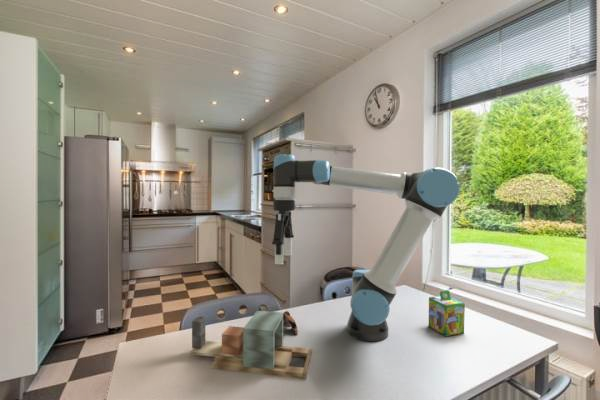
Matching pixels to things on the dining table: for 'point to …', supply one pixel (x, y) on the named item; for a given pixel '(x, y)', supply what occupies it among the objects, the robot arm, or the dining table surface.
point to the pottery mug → (289, 322)
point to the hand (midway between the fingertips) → (283, 259)
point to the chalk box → (446, 314)
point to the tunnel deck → (267, 350)
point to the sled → (227, 347)
